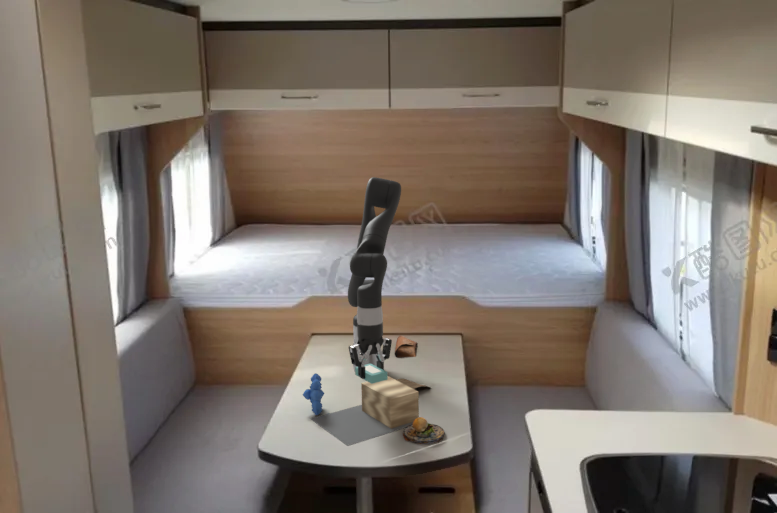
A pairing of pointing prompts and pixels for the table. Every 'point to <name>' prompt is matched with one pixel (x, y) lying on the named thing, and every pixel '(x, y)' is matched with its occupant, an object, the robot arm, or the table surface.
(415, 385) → the clay tablet
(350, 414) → the mat
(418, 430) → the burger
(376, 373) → the card box
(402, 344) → the sunglasses case
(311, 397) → the blue knobby sculpture
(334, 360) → the table surface
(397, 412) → the oak block
